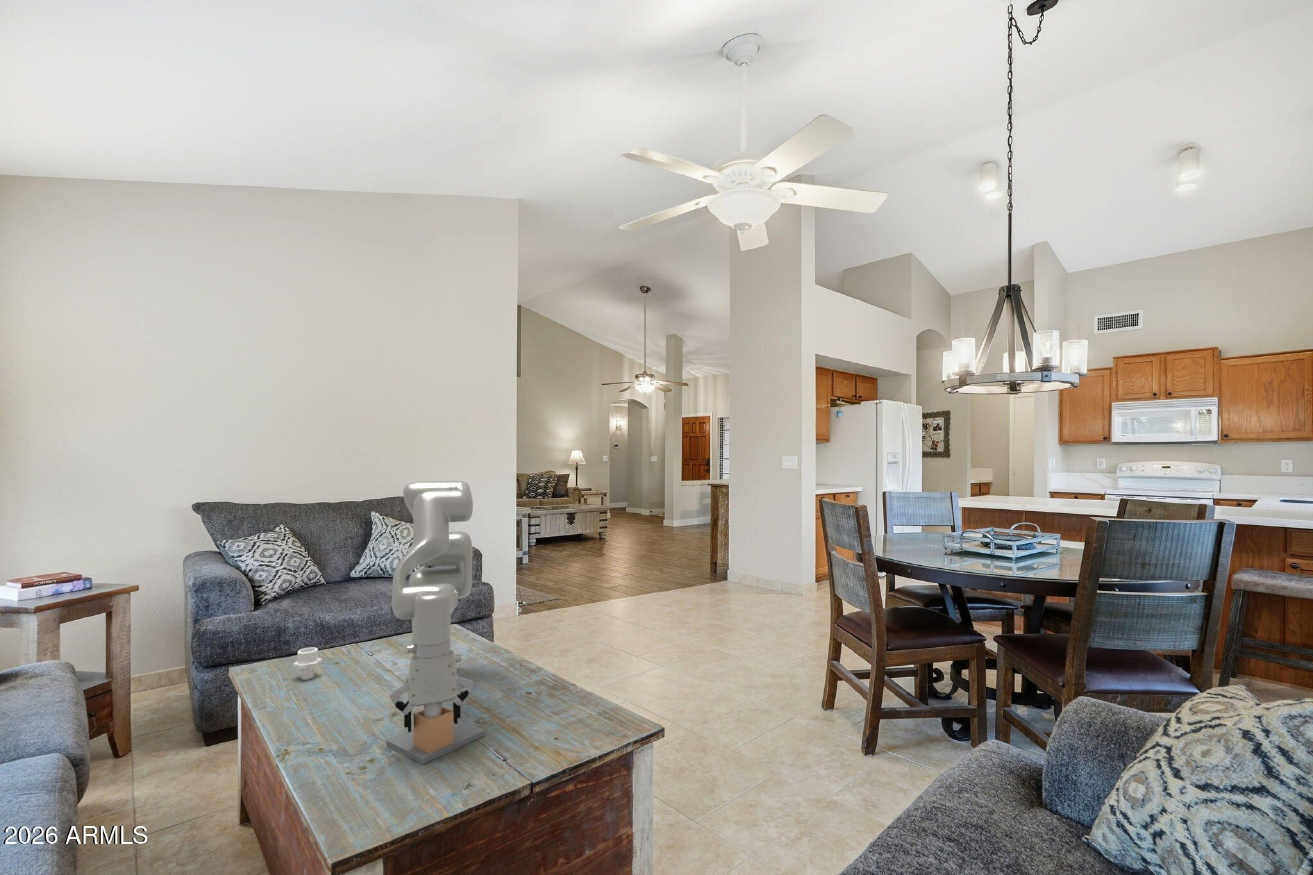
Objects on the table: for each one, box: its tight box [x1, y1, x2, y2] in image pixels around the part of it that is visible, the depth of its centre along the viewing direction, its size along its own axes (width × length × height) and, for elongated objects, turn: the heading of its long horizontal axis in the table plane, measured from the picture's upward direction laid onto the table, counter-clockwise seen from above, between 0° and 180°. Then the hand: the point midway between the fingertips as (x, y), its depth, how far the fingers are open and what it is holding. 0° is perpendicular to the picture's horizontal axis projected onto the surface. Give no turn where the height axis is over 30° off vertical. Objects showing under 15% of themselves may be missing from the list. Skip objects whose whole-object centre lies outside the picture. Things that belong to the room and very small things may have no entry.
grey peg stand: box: [386, 702, 486, 765], centre depth 139 cm, size 16×14×11 cm
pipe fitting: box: [293, 646, 323, 681], centre depth 178 cm, size 6×7×8 cm
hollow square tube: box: [413, 705, 454, 754], centre depth 135 cm, size 6×6×7 cm
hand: (432, 725), depth 135 cm, fingers open, 9 cm apart
